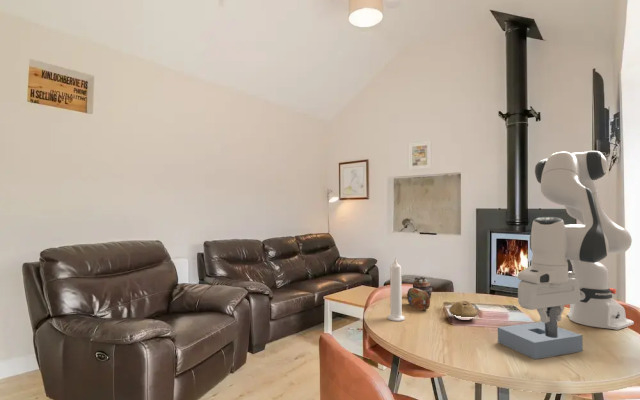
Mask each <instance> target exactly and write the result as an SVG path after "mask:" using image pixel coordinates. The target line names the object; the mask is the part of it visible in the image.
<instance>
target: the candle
mask: <svg viewBox="0 0 640 400" xmlns="http://www.w3.org/2000/svg"><path fill="white" fill-rule="evenodd" d="M389 269H390V272H389V274H390V277H389V278H390V280H389V281H390V282H389V283H390V289H389V290H390V293H389V294H390V314H388V315H387V320H390V321H392V322H403V321H405V319H406V318H405V317H406V316H405V315H403V313H402V310H403V309H402V308H403V306H402V303H403V300H402V294H403V293H402V266H401V265H400V264H399V263H398V259H397V258H396V257H395V258H394V261H393V263H392V264H391V265H390V267H389Z"/></svg>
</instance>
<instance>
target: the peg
mask: <svg viewBox="0 0 640 400" xmlns="http://www.w3.org/2000/svg"><path fill="white" fill-rule="evenodd" d="M545 312H546V314H547V316H549V317H550V322H548V323H545V336H547V337H551V338H557V337H558V333H557V327H558V321H557V306H555V307H548V308H547V311H545Z"/></svg>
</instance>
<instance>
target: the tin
mask: <svg viewBox="0 0 640 400" xmlns="http://www.w3.org/2000/svg"><path fill="white" fill-rule="evenodd" d="M406 296H407V297H406V298H407V302H408V304H409V306H411V307H413V308H415V309H417V310H420V311H427V310H428V309H429V308H430V306H431V298H430V297H429V295H428V293H427V292H425V291H422V290H419V289H417V288H413V287H410V288H409V289H408V290H407V293H406Z"/></svg>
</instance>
